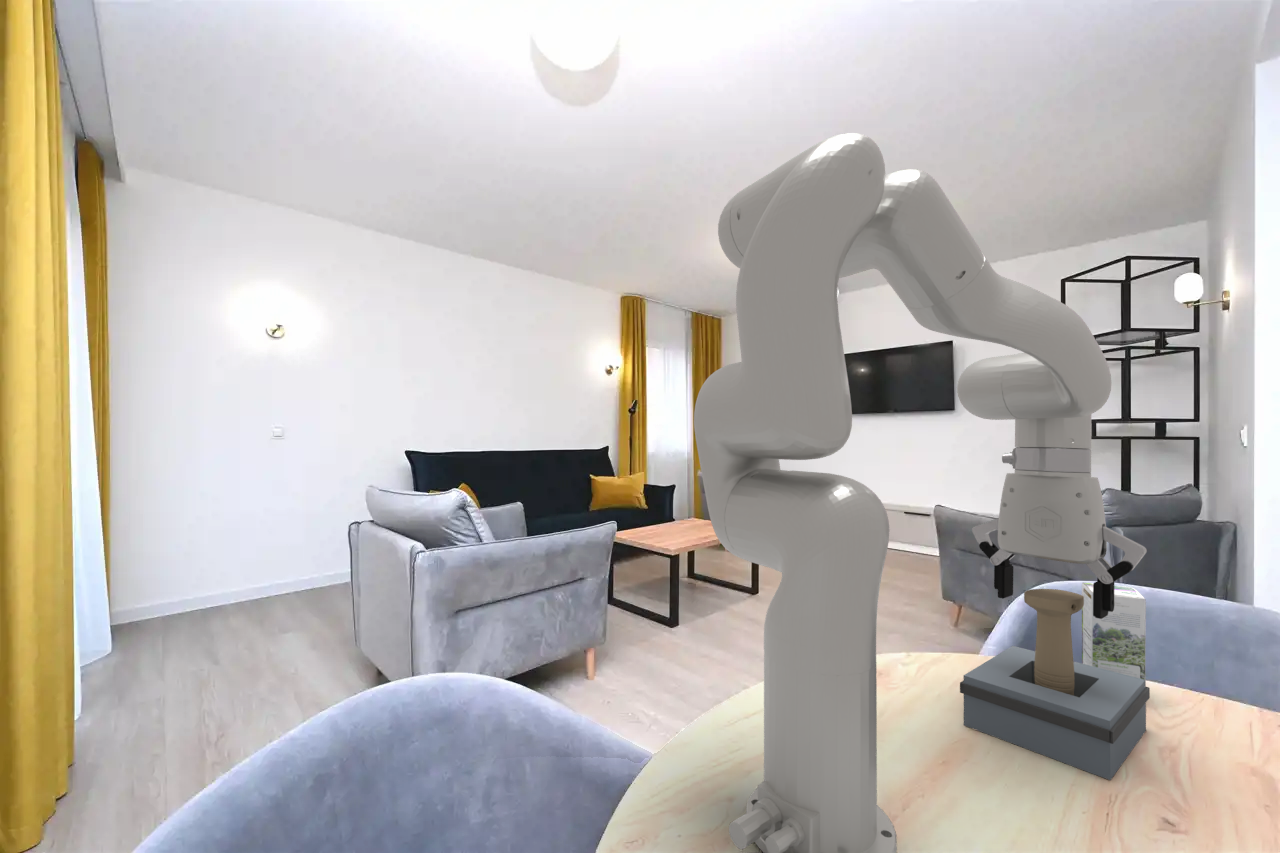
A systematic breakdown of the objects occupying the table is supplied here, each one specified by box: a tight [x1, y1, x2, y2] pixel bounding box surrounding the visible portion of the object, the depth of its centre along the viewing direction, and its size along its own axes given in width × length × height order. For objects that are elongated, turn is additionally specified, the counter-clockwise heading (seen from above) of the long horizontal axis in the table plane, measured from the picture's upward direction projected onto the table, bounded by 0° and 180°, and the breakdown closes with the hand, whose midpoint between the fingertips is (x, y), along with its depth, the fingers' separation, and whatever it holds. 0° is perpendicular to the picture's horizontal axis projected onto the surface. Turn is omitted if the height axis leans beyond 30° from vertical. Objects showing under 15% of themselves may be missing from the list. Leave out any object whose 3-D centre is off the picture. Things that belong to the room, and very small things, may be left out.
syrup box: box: [1081, 582, 1147, 680], centre depth 77 cm, size 6×6×14 cm
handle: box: [1023, 588, 1084, 696], centre depth 68 cm, size 5×6×15 cm
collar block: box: [959, 645, 1151, 781], centre depth 68 cm, size 17×15×6 cm
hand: (1050, 606), depth 68 cm, fingers open, 9 cm apart
